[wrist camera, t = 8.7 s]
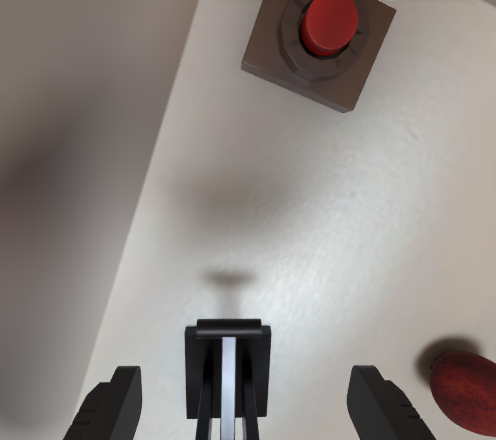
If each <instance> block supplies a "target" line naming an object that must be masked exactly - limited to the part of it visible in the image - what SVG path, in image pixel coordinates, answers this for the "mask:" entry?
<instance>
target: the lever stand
mask: <svg viewBox="0 0 496 440" xmlns="http://www.w3.org/2000/svg"><path fill="white" fill-rule="evenodd" d="M270 349H271V329H270V326H262V334H261V338H236V391H235V418H241V417H242V425H243V440H259V431H258V421H257V417H266V416H267V400H268V383H269V366H270ZM221 365H222V338H217V339H197V337H196V327H186V330H185V369H186V409H187V419H198V421H197V430H196V439H195V440H211V429H212V418H221Z"/></svg>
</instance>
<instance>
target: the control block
mask: <svg viewBox="0 0 496 440" xmlns="http://www.w3.org/2000/svg"><path fill="white" fill-rule="evenodd" d="M353 1H354V3H355V5H356V8H357V12H358V25H357V29H356V32H355V34H354V36H353V37H352V39H351V40H350V41H349V42H348V43H347V44H346V45H345V46H343V47H342V48H341V49H340V50H339V51H337V52H336V53H334V54H332V55H329V56H319V55H316V54H314V53H312V52H311V51H310V50H309V49H308V48H307V47H306V46H305V44H304V42H303V40H302V36H301V24H302V20H303V17H304V15H305V13H306V12H307V10H308V8H309V7H310V5H311V3H312V2H313V0H263V2H262V5H261V8H260V10H259V13H258V16H257V19H256V22H255V25H254V28H253V31H252V34H251V37H250V40H249V43H248V46H247V48H246V51H245V54H244V57H243V60H242V65H241V69H242V70H245V71H247V72H249V73H251V74H254V75H256V76H258V77H261V78H263V79H265V80H268V81H270V82H272V83H275V84H277V85H279V86H282V87H284V88H286V89H289V90H291V91H293V92H296V93H298V94H300V95H303V96H305V97H307V98H310V99H312V100H314V101H317V102H319V103H321V104H323V105H326V106H328V107H330V108H333V109H335V110H337V111H340V112H342V113H345V112H349V111H353V109H354V107H355V105H356V102H357V100H358V98H359V95H360V93H361V91H362V89H363V86H364V84H365V82H366V79H367V77H368V75H369V73H370V70H371V68H372V66H373V63H374V61H375V59H376V56H377V54H378V52H379V50H380V47H381V45H382V43H383V40H384V38H385V36H386V34H387V31H388V29H389V27H390V24H391V22H392V20H393V17H394V15H395V13H396V9H394V8H392V7H390V6H388V5H386V4H384V3H382V2H380V1H378V0H353Z"/></svg>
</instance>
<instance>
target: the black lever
mask: <svg viewBox="0 0 496 440" xmlns="http://www.w3.org/2000/svg"><path fill="white" fill-rule="evenodd" d="M261 334H262V325H261V319H198V320H197V327H196V337H197V339H217V338H222V365H221V425H220V440H235V391H236V338H261Z"/></svg>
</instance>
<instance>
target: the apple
mask: <svg viewBox="0 0 496 440" xmlns="http://www.w3.org/2000/svg"><path fill="white" fill-rule="evenodd" d="M431 369H432V371H431V376H430V387H431V392H432V395H433V398H434V400H435V402H436V403H437V405H438V406H439V408H440V409H441V410H442V412H443V413H444V414H445V415H446V416H447V417H448V418H449V419H450V420H451V421H453V422H454V423H455V424H457V425H459V426H460V427H462V428H464V429H466V430H469V431H471V432H474V433H477V434H481V435H485V436H491V437H496V363H494V362H492V361H490V360H488V359H486V358H484V357H482V356H479V355H477V354H473V353H470V352H462V351H452V352H448V353H445V354H443V355H441V356H440V357H439V358H438V359H437V360H436V361H435V363H434V365H433V367H431Z"/></svg>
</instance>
